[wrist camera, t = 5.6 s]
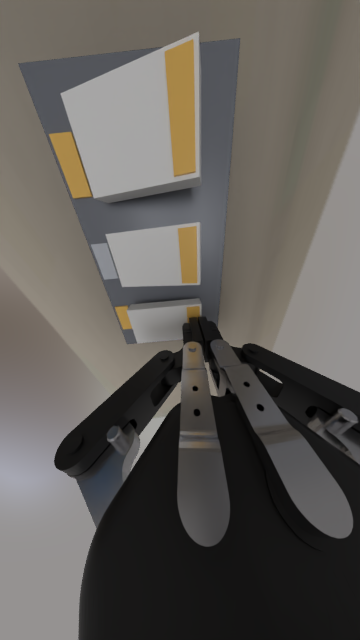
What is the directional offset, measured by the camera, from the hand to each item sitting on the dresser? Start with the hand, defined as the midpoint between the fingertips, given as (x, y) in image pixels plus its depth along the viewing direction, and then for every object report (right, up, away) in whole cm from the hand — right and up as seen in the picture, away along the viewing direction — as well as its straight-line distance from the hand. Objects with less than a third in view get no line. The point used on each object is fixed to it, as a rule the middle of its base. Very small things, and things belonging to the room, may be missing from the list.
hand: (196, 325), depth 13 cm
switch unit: (-4, +8, +2) cm, 9 cm away
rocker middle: (-4, +5, -2) cm, 7 cm away
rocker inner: (-4, +11, -5) cm, 12 cm away
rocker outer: (-3, 0, +1) cm, 3 cm away
